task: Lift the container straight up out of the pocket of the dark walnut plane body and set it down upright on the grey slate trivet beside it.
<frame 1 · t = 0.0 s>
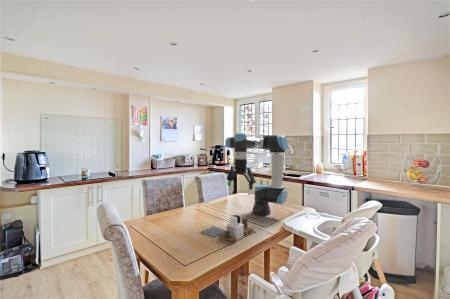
hand: (240, 193, 131), 28 cm above the table, fingers open, 13 cm apart
plane body: (235, 236, 134), on the table
slate trivet: (213, 232, 140), on the table
container: (235, 236, 134), resting in plane body
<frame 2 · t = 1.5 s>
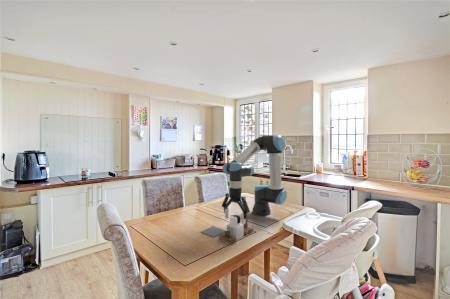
hand: (235, 221, 133), 10 cm above the table, fingers open, 13 cm apart
nothing on the table moved.
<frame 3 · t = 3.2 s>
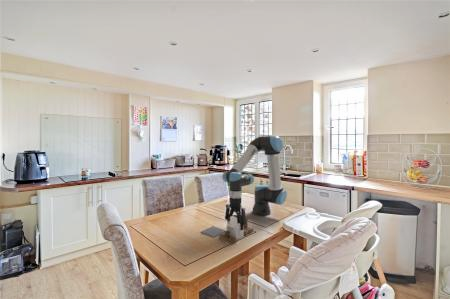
hand: (235, 233, 133), 2 cm above the table, fingers closed on container, 8 cm apart
container: (235, 236, 134), resting in plane body, touching gripper
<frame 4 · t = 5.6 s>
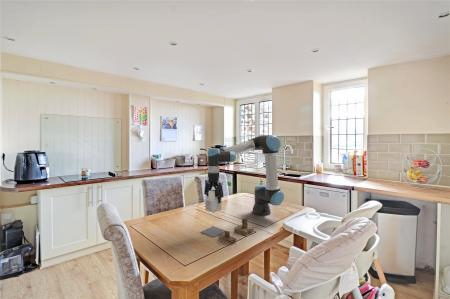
hand: (213, 206, 139), 17 cm above the table, fingers closed on container, 8 cm apart
container: (213, 210, 139), point 14 cm above the table, touching gripper
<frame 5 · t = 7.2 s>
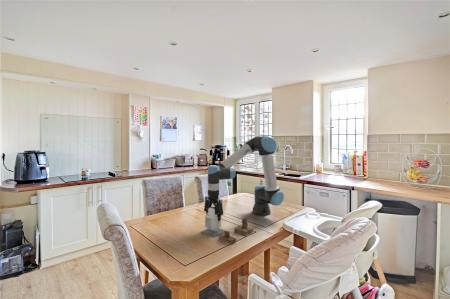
hand: (213, 223, 140), 5 cm above the table, fingers closed on container, 8 cm apart
container: (213, 227, 140), point 3 cm above the table, touching gripper
when the fingers open (4 cm above the table, at t = 8.3 s): container drops 1 cm, resting on slate trivet.
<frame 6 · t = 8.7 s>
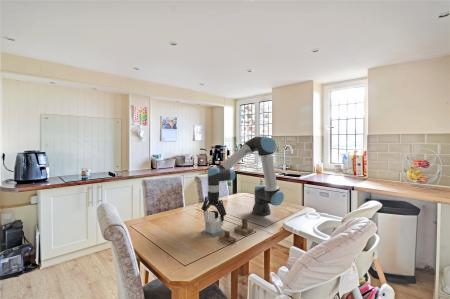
hand: (213, 223, 140), 6 cm above the table, fingers open, 13 cm apart
container: (213, 231, 140), resting on slate trivet
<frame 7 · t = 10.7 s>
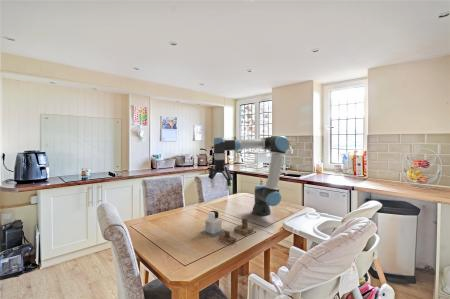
hand: (220, 189, 151), 26 cm above the table, fingers open, 13 cm apart
nothing on the table moved.
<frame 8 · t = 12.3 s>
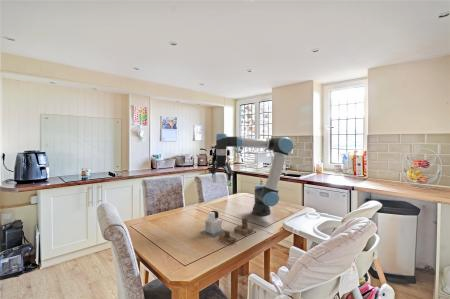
hand: (221, 183, 156), 29 cm above the table, fingers open, 13 cm apart
nothing on the table moved.
at the end: container inside the target area on the slate trivet (0.0 cm from its centre), point 0.4 cm above the slate trivet's base; container tilted 0°; container touching slate trivet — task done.
